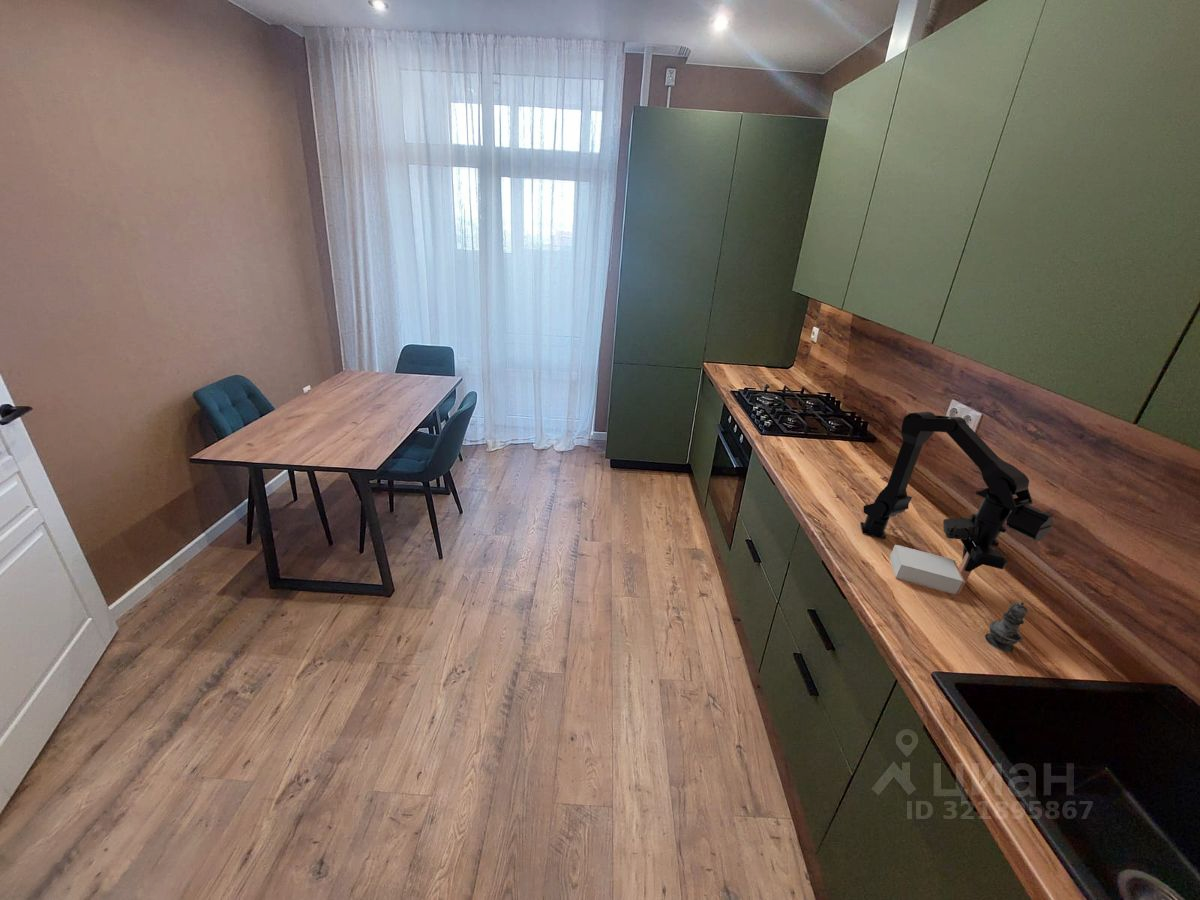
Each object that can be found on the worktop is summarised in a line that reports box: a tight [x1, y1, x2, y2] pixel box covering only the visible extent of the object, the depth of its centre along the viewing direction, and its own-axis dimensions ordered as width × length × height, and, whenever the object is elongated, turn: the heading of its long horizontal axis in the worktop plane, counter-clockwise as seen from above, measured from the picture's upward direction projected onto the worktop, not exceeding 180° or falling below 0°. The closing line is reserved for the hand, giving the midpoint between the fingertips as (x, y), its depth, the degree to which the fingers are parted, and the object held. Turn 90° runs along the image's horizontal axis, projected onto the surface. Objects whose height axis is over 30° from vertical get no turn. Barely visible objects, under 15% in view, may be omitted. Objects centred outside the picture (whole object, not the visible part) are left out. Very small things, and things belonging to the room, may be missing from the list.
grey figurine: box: [984, 601, 1028, 653], centre depth 106 cm, size 6×6×12 cm
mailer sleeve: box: [889, 544, 963, 596], centre depth 129 cm, size 10×14×4 cm
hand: (965, 568), depth 125 cm, fingers closed
